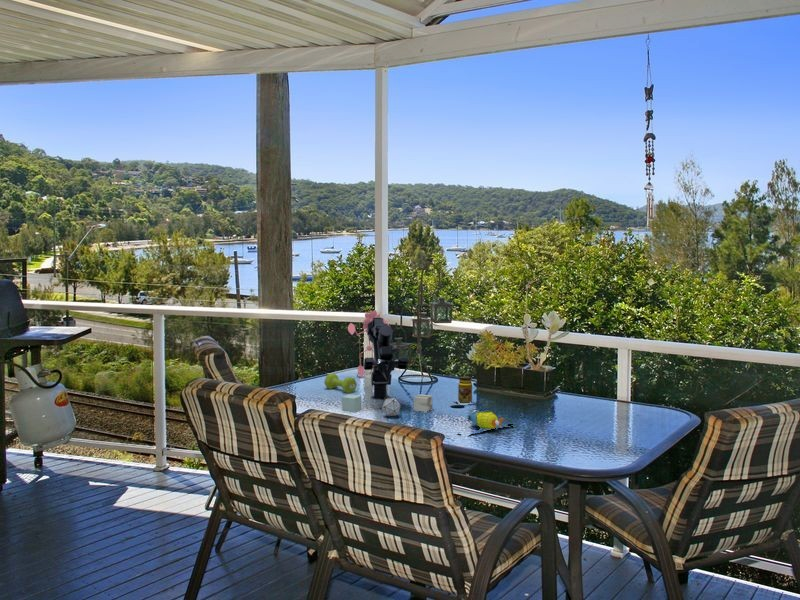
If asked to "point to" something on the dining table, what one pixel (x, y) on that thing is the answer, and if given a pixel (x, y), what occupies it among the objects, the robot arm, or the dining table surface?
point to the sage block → (351, 403)
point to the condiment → (465, 389)
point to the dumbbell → (340, 383)
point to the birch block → (423, 403)
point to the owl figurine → (484, 419)
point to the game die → (391, 407)
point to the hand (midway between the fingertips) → (387, 379)
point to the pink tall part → (368, 319)
